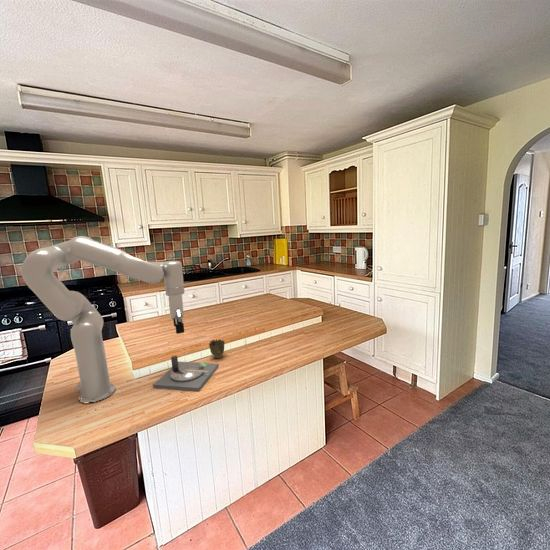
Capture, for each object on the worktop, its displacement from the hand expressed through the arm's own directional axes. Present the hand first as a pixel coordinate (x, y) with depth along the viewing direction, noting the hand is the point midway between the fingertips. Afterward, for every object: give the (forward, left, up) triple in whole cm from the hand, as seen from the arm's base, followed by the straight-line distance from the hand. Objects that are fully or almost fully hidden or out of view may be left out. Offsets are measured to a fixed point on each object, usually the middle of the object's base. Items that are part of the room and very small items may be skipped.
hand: (179, 329), depth 126 cm
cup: (+9, +16, -21) cm, 28 cm away
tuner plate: (+3, -3, -21) cm, 21 cm away
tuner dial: (+5, -3, -19) cm, 19 cm away
